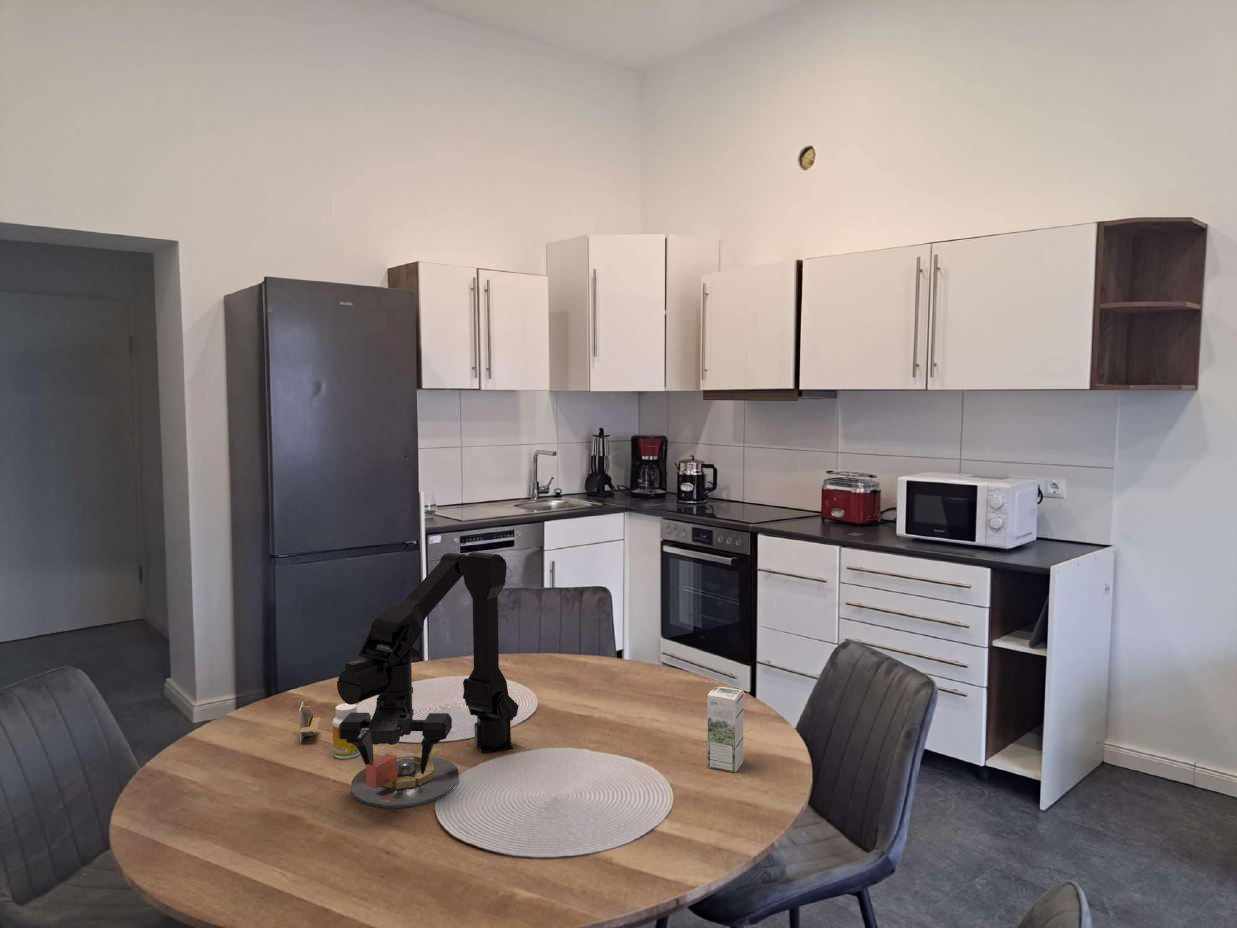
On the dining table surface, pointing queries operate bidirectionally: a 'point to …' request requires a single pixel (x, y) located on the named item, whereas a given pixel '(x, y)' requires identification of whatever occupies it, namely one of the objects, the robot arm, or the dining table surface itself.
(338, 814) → the dining table surface
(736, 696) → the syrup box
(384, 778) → the colourful block cluster
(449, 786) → the cap plate
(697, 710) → the dining table surface
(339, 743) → the supplement bottle
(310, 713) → the architectural model
